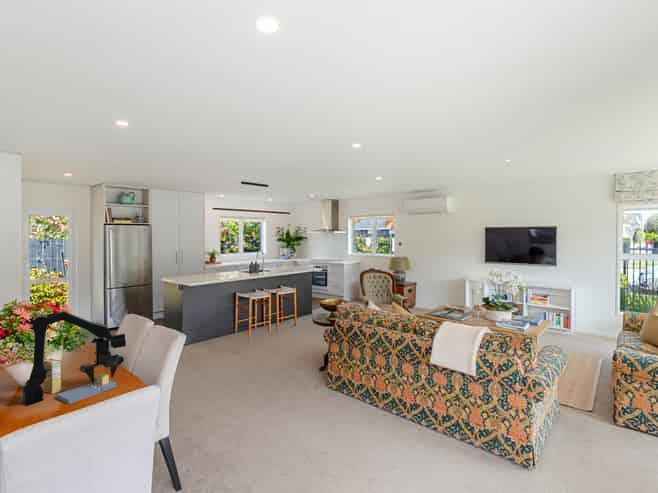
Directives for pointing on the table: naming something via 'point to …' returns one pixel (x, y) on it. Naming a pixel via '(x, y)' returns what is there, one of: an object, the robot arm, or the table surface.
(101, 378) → the stub
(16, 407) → the table surface
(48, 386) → the candy box
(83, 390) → the blue-grey flat slab
